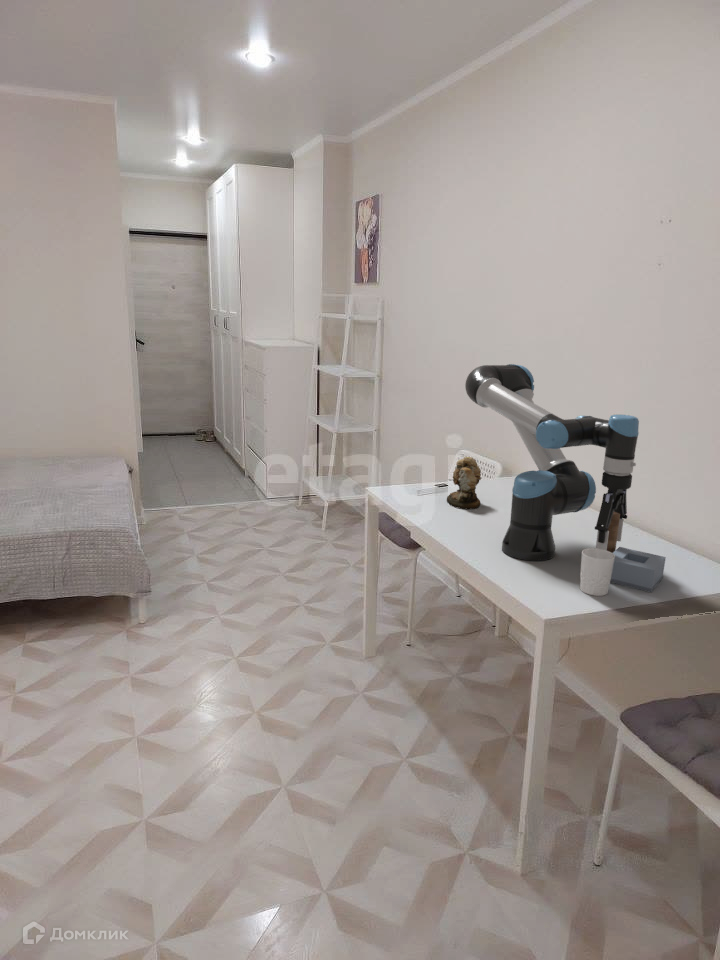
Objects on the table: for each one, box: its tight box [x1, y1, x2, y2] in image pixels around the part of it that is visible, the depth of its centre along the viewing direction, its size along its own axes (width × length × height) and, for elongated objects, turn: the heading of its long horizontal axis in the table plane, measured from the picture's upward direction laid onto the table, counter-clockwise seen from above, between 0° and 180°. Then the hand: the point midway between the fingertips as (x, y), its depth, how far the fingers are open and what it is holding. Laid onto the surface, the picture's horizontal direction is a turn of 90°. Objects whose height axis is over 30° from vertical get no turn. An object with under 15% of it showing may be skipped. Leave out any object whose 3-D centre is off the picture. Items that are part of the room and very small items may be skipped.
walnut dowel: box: [607, 512, 620, 553], centre depth 186 cm, size 4×4×15 cm
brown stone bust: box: [446, 456, 482, 510], centre depth 242 cm, size 18×12×17 cm, turn 6°
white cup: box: [579, 547, 615, 597], centre depth 169 cm, size 8×8×10 cm
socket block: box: [610, 546, 666, 593], centre depth 178 cm, size 12×12×6 cm
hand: (608, 546), depth 187 cm, fingers open, 13 cm apart
